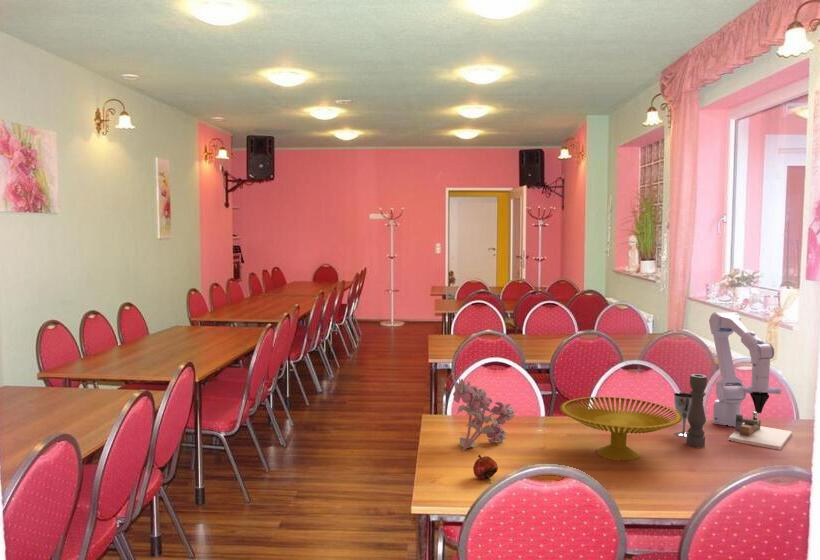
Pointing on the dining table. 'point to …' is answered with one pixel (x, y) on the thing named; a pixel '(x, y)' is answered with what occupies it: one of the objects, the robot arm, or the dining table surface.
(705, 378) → the candle holder
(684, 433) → the wine glass
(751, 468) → the dining table surface
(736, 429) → the metal keeper
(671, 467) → the dining table surface
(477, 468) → the pomegranate
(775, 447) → the white plate
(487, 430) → the flower
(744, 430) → the walnut link
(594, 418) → the pedestal fruit bowl
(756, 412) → the metal pin
